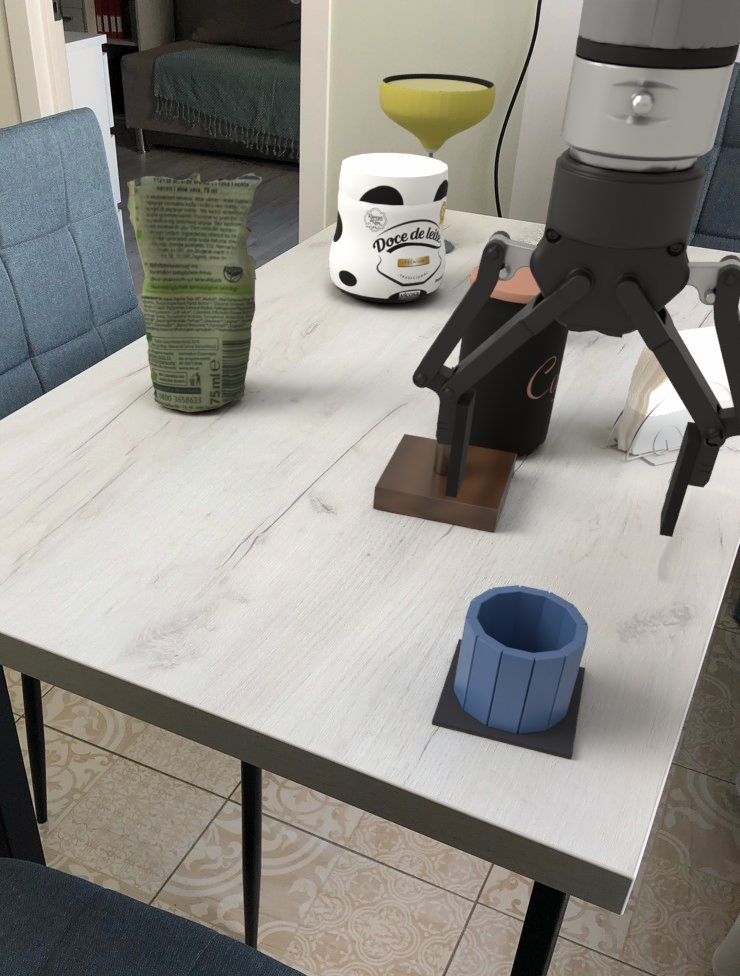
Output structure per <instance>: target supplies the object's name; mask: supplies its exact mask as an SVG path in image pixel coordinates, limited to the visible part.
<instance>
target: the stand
mask: <svg viewBox="0 0 740 976" xmlns="http://www.w3.org/2000/svg"><path fill="white" fill-rule="evenodd" d="M450 452H451V446H450V445H444V444H438V442H437V438H430V437H425V436H418V435H413V434H407V433H404V434H403V435H402V438H401V439H400V441H399V443H398V444H397V446H396V448H395V450H394V452H393V454H392V456H391V457H390V459H389V461H388V463H387V465H385V468H384V470H383V471H382V473H381V475H380V477H379V479H378V481H377V482H376V484H375V486H374V490H373V505H372V509H374V510H378V511H379V510H380V511H385V512H390V513H395V514H401V515H405V516H408V517H409V516H410V517H415V518H420V519H425V520H430V521H434V522H440V523H445V524H451V525H456V526H461V527H466V528H470V529H474V530H475V529H476V530H481V531H485V532H490V533H495V531H496V529H497V525H498V523H499V520H500V516H501V514H502V510H503V507H504V504H505V501H506V499H507V495H508V492H509V489H510V486H511V482H512V479H513V476H514V473H515V467H516V463H517V458H518V457H517V454H516V453H511V452H505V451H499V450H494V449H488V448H482V447H476V446H471V445H469V446H468V453H467V460H466V467H465V474H464V479H463V482H462V484H461V487H460V489H459V492H458V494H457V497H456V498H454V497H449V496H445V491H446V483H447V475H448V467H449V459H450ZM516 457H517V458H516Z"/></svg>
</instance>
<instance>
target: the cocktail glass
mask: <svg viewBox="0 0 740 976" xmlns="http://www.w3.org/2000/svg"><path fill="white" fill-rule="evenodd" d="M378 96H379V97H378V98H379V105H380V109H381V110H382V112H383V113H384V114H385V115H386V116H387V117H388V118H389V119H390V120H391V121H392V122H394V123H395V124H396V125H398V126H400V127H401V128H403V129H404V130H406V131H407V132H409V133H411V134H412V135H413V136H414V137H416V138H417V139H418V140H419V142H420V144H421V146H422V148H423V149H424V151H425V152H426V153H428V157H430V158H433V156H434V154H435V153H437V152H439V151H440V149H441V147H442V146H443V145H444V144H445V143H446V141H448V140H449V139H451V138H452V137H454V136H456V135H457V134H460V133H462V132H464V131H466V130H469V129H471V128H472V127H474V126H476V125H478V124H479V123H481V122H482V121H484V120H485V119H486V118H487V117H488V116H489V115H490V113H491V112H492V110H493V108H494V106H495V102H496V85H495V83H494V82H492V81H490V80H487V79H485V78H480V77H475V76H467V75H460V74H459V75H458V74H450V73H449V74H446V73H405V74H404V73H403V74H395V75H389V76H386V77H384V78H382V80H381V82H380V87H379V95H378ZM444 244H445V251H446V254H448V253H450V252H452V251H453V249H454V244H453V243H452V242H451V241H449V240H447V239H445V238H444Z"/></svg>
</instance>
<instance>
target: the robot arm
mask: <svg viewBox="0 0 740 976" xmlns="http://www.w3.org/2000/svg"><path fill="white" fill-rule="evenodd" d="M578 27H579V28H578V33H577V37H576V46H575V52H574V53H573V59H572V65H571V72H570V77H569V83H568V90H567V93H566V100H565V105H564V112H563V117H562V123H561V124H562V125H561V129H560V136H559V137H560V138H561V140H562V141H563V142H564V144H565V145H566V146H567V147H568V148H567V149H566V150H564V151H563V152H562V153H561V154H560V156H558V157H557V158H556V160H555V165H554V171H553V177H552V182H551V183H552V185H551V189H550V194H549V200H548V207H547V211H546V218H545V225H544V231H543V235H542V237H541V239H540V240H539V241H538V243H537V244H532V243H528V242H524V241H519V240H515V239H512V238H511V235H510V234H509V233H508V232H507V231H505V230H498V231H494V233H492V234H491V236H490V237H489V239H488V241H487V243H486V244H485V246H484V248H483V250H482V253H481V257H480V261H479V265H478V266H479V269H478V273H477V277H476V279H475V281H474V282H473V284H471V285H470V286H469V288H468V290H467V291H466V293H465V294H464V295H463V297H462V299H461V300H460V301H459V303H458V305H457V306H456V308H455V309H454V310H453V312H452V314H451V315H450V316H449V318H448V319H447V320H446V322H445V324H444V326H443V327H442V328H441V330H440V332H439V333H438V334H437V336H436V338H435V339H434V341H433V342H432V344H431V345H430V347H429V348H428V350H427V351H426V353H425V354H424V355H423V357H422V359H421V361H420V362H419V364H418V365H417V367H416V369H415V371H414V373H413V374H412V377H411V378H412V379H411V380H412V382H413V384H414V386H416V387H417V388H419V389H424V388H427V389H429V390H431V391H432V392H434V393H435V394H436V395H437V397H438V399H439V404H438V414H437V421H436V422H437V423H436V431H435V439H436V440H437V442H438V444H444V445H450V446H451V452H450V459H449V467H448V475H447V483H446V491H445V496H449V497H454V498H456V497H457V494H458V492H459V489H460V487H461V484H462V482H463V479H464V474H465V467H466V460H467V453H468V446H469V438H470V431H471V424H472V417H473V410H474V403H475V395H476V390H475V389H470V388H471V387H472V386H473V385H474V384H476V383H477V382H478V381H479V380H480V379H482V378H483V377H484V376H485V375H486V374H488V373H489V372H490V371H491V370H492V369H494V368H495V367H496V366H497V365H498V364H500V363H501V362H502V361H503V360H504V359H506V358H507V357H508V356H509V355H510V354H512V353H513V352H514V351H515V350H516V349H518V348H519V347H520V346H521V345H522V344H524V343H525V342H526V341H527V340H528V339H530V338H531V337H532V336H534V335H537V334H538V333H539V332H541V331H542V330H543V329H544V328H545V327H547V326H548V325H549V324H550V323H551V322H553V321H554V320H555V319H556V320H557V321H558V322H559V323H560V324H561V325H563V326H565V327H567V328H566V331H568V332H574V333H575V332H576V333H587V332H594V331H595V332H598V333H600V334H602V335H605V336H607V337H613V338H620V339H622V338H623V335H628V334H631V333H634V332H636V331H637V332H638V334H639V335H640V337H641V339H642V340H643V342H644V344H645V346H646V347H647V348H648V350H649V351H650V352H652V353H653V355H654V357H655V358H656V360H657V362H658V364H659V365H660V367H661V368H662V370H663V372H664V373H665V375H666V377H667V379H668V380H669V382H670V383H671V385H672V387H673V389H674V390H675V392H676V393H677V395H678V397H679V398H680V401H681V402H682V404H683V405H684V407H685V409H686V411H687V412H688V414H689V416H690V417H691V419H692V420H693V421H687V423H686V427H685V430H684V434H683V437H682V440H681V444H680V447H679V451H678V453H677V457H676V460H675V464H674V468H673V471H672V473H671V474H672V475H671V478H670V481H669V483H668V487H667V491H666V494H665V498H664V502H663V504H662V509H661V511H660V523H659V536H664V537H669V538H673V535H674V533H675V529H676V526H677V522H678V519H679V516H680V513H681V509H682V507H683V503H684V500H685V497H686V493H687V490H688V487H689V486H692V487H697V488H703V489H704V488H705V487H706V485H708V483H709V482H710V479H711V477H712V473H713V471H714V468H715V464H716V462H717V458H718V456H719V452H720V449H721V447H723V446H724V444H725V443H726V441H727V440H728V439H730V438H733V437H738V436H739V437H740V307H739V306H740V257H739V256H738V255H735V254H728V255H725V256H723V257H722V258H721V259H720V260H719V261H690V260H689V257H688V246H689V240H690V237H691V234H692V228H693V226H694V221H695V217H696V213H697V210H698V206H699V203H700V198H701V195H702V191H703V187H704V183H705V179H706V175H707V169H706V168H705V167H704V163H703V162H702V161H701V160H700V159H698V158H700V157H701V156H703V155H704V156H705V154H707V153H709V151H711V150H712V149H713V147H714V144H715V141H716V136H717V133H718V130H719V129H718V128H719V125H720V120H721V118H722V113H723V111H724V106H725V102H726V98H727V94H728V90H729V86H730V83H731V79H732V74H733V70H734V67H735V63H736V60H737V57H738V56H737V55H738V52H739V49H740V0H583V2H582V7H581V14H580V20H579V26H578ZM522 267H530V271H531V274H532V276H533V277H534V279H535V281H536V283H537V285H538V287H539V289H540V292H539V293H538V294H537V295H536V296H535V297H534V298H532V299H531V300H530V301H529V303H528V304H527V305H526V306H525V307H524V308H523V309H522V310H521V311H519V312H518V313H517V314H516V315H515V316H514V317H512V318H511V319H510V320H509V321H508V322H507V323H505V324H504V325H503V326H502V327H501V328H500V329H499V330H497V331H496V332H495V333H494V334H493V335H492V336H490V337H489V338H488V339H487V340H486V341H485V342H483V343H482V344H481V345H480V346H479V347H478V348H477V349H475V350H474V351H473V352H472V353H471V354H470V355H468V356H467V357H466V358H465V359H464V360H463V361H461V362H460V363H459V364H458V363H457V364H456V366H452V367H448V366H447V365H445V363H446V362H447V360H448V359H449V357H450V356H451V354H452V353H453V352H454V350H455V348H456V347H457V346H458V344H459V342H461V339H462V337H463V335H464V334H465V332H466V331H467V329H468V328H469V327H470V325H471V324H472V322H473V321H474V319H475V318H476V316H477V315H478V313H479V312H480V311H481V309H482V308H483V306H484V305H485V303H486V302H487V300H488V299H489V297H490V296H491V294H492V292H493V290H494V288H495V286H496V285H497V283H498V281H499V280H501V281H508V280H510V279H511V278H512V277H513V276H514V275H515V273H516V271H517V270H518V269H520V268H522ZM686 286H689V287H690V286H691V287H693V288H694V289H695V290H696V291H697V293H698V299H699V301H700V302H701V304H703V305H706V306H712V307H713V322H714V329H715V333H716V337H717V341H718V345H719V349H720V354H721V358H722V363H723V367H724V370H725V375H726V380H727V383H728V387H729V393H730V397H731V401H732V404H733V406H731V407H724V408H723V407H722V405H721V403H720V401H719V400H718V398H717V395H715V393H714V391H713V389H712V388H711V386H710V384H709V383H708V381H707V379H706V378H705V376H704V374H703V371H701V369H700V367H699V366H698V364H697V362H696V360H695V358H694V356H693V355H692V353H691V352H690V350H689V348H688V346H687V345H686V343H685V342H684V340H683V338H682V336H681V334H680V333H679V330H678V329H677V327H676V326H675V323H674V321H673V318H672V316H671V313H670V312H669V310H668V308H667V307H666V306H667V305H668V304H669V303H670V302H671V301H673V299H675V298H676V297H677V296H678V295H679V294H680V293H681V292H682V291H684V289H685V288H686Z"/></svg>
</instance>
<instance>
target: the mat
mask: <svg viewBox="0 0 740 976" xmlns="http://www.w3.org/2000/svg"><path fill="white" fill-rule="evenodd" d="M461 641H462V638H458V641H457V644H456V646H455V650H454V653H453V656H452V659H451V662H450V665H449V668H448V671H447V674H446V678H445V681H444V683H443V687H442V689H441V692H440V695H439V699H438V701H437V705H436V707H435V711H434V713H433V717H432V720H431V725H434V726H438V727H442V728H446V729H450V730H454V731H458V732H461V733H466V734H470V735H474V736H478V737H481V738H485V739H489V740H493V741H497V742H501V743H505V744H509V745H513V746H517V747H521V748H525V749H529V750H533V751H537V752H539V753H544V754H549V755H552V756H557V757H560V758H564V759H568V760H571V759H572V757H573V752H574V747H575V746H574V745H575V739H576V731H577V726H578V718H579V712H580V705H581V699H582V691H583V685H584V679H585V672H586V667H583V666H580V667H579V670H578V674H577V678H576V681H575V685H574V689H573V692H572V696H571V700H570V703H569V707H568V711H567V714H566V715H565V717H564V718H563V719H562V720H560V721H559V722H558V723H556V724H555V725H554V726H552V727H551V728H549V729H546V731H539V732H531V733H523V734H519V733H518V731H517V733H512V732H508V731H504V730H500V729H496V728H492V727H488V724H487V725H484V724H483V723H481V722H480V721H478V720H477V719H476V718H474V717H473V716H471V715H470V714H469V713H467V712H466V711H464V709H463V708H462V706H461V704H460V702H459V700H458V698H457V696H456V694H455V692H454V682H455V677H456V671H457V665H458V659H459V653H460V647H461Z"/></svg>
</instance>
